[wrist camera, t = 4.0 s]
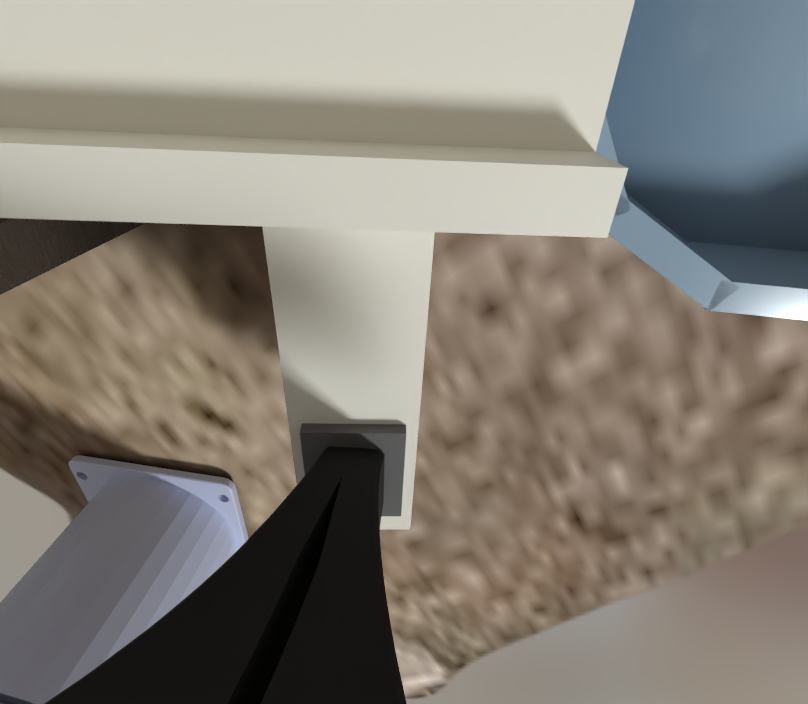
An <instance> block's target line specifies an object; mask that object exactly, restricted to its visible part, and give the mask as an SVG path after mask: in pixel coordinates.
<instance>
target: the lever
mask: <svg viewBox="0 0 808 704" xmlns="http://www.w3.org/2000/svg"><path fill="white" fill-rule="evenodd" d="M634 2H635V0H0V218H18V219H49V220H80V221H110V222H141V223H171V224H202V225H233V226H262V228H263V236H264V243H265V251H266V258H267V266H268V273H269V281H270V288H271V295H272V303H273V310H274V318H275V325H276V333H277V340H278V348H279V355H280V362H281V370H282V377H283V385H284V392H285V400H286V407H287V415H288V422H289V429H290V437H291V444H292V452H293V459H294V467H295V474H296V482H297V485H298V483H299V482H300V481H301V480H302V479H303V477H304V476H305V475H306V474H307V472H308V471H309V470H310V469H311V467H312V466H313V465H314V463H315V462H316V461H317V459H318V458H319V457H320V455H321V454H322V453H323V451H324V450H325V449H326V448H328V447H329V446H332V447H352V448H368V449H375V450H381V451H382V452H383V453H384V454H385V462H384V499H383V509H382V515H381V522H380V529H410V524H411V512H412V500H413V488H414V476H415V464H416V451H417V439H418V427H419V415H420V403H421V391H422V379H423V367H424V355H425V343H426V330H427V318H428V306H429V294H430V282H431V270H432V258H433V246H434V234H435V232H447V233H478V234H509V235H539V236H570V237H600V238H607V237H608V234H609V231H610V227H611V224H612V221H613V218H614V214H615V211H616V208H617V204H618V201H619V198H620V194H621V191H622V188H623V185H624V181H625V178H626V175H627V171H628V168H627V167H625V166H623V165H621V164H619V163H617V162H615V161H613V160H611V159H609V158H607V157H605V156H603V155H601V154H599V153H597V152H596V149H597V145H598V141H599V137H600V133H601V129H602V125H603V122H604V118H605V114H606V110H607V106H608V102H609V99H610V95H611V91H612V87H613V83H614V79H615V75H616V72H617V68H618V64H619V60H620V56H621V52H622V49H623V45H624V41H625V37H626V33H627V29H628V25H629V22H630V18H631V14H632V10H633V6H634Z"/></svg>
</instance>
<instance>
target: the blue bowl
mask: <svg viewBox="0 0 808 704" xmlns="http://www.w3.org/2000/svg"><path fill="white" fill-rule="evenodd" d="M596 152H597V153H599V154H601V155H603V156H605V157H607V158H609V159H611V160H613V161H615V162H617V163H619V164H621V165H623V166H625V167H627V168H628V171H627V175H626V178H625V181H624V185H623V188H622V191H621V194H620V198H619V201H618V204H617V208H616V211H615V214H614V218H613V221H612V224H611V227H610V231H609V235H610V236H611V237H612V238H614V239H615V240H616V241H618V242H619V243H620V244H622V245H623V246H624V247H626V248H627V249H628V250H630V251H631V252H632V253H634V254H635V255H636V256H637V257H639V258H640V259H641V260H643V261H644V262H645V263H647V264H648V265H649V266H651V267H652V268H653V269H655V270H656V271H657V272H659V273H660V274H661V275H663V276H664V277H665V278H666V279H668V280H669V281H670V282H672V283H673V284H674V285H676V286H677V287H678V288H680V289H681V290H682V291H684V292H685V293H686V294H688V295H689V296H690V297H691V298H693V299H694V300H695V301H697V302H698V303H699V304H701V305H702V306H703V307H704V308H705V309H706V310H709V311H719V312H729V313H738V314H748V315H758V316H767V317H777V318H787V319H796V320H806V321H808V0H635V2H634V6H633V10H632V14H631V18H630V22H629V25H628V29H627V33H626V37H625V41H624V45H623V49H622V52H621V56H620V60H619V64H618V68H617V72H616V75H615V79H614V83H613V87H612V91H611V95H610V99H609V102H608V106H607V110H606V114H605V118H604V122H603V125H602V129H601V133H600V137H599V141H598V145H597V149H596Z"/></svg>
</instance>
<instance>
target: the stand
mask: <svg viewBox="0 0 808 704" xmlns="http://www.w3.org/2000/svg"><path fill="white" fill-rule="evenodd" d="M142 224H144V223H141V222H110V221H80V220H49V219H18V218H0V295H1V294H3V293H5V292H7V291H9V290H11V289H13V288H15V287H17V286H19V285H21V284H23V283H25V282H27V281H29V280H31V279H33V278H35V277H37V276H39V275H41V274H43V273H45V272H47V271H49V270H51V269H53V268H55V267H57V266H59V265H61V264H63V263H65V262H67V261H69V260H71V259H73V258H75V257H77V256H79V255H81V254H83V253H85V252H87V251H89V250H91V249H93V248H95V247H98V246H100V245H102V244H104V243H106V242H108V241H110V240H112V239H114V238H116V237H118V236H120V235H122V234H124V233H126V232H128V231H130V230H132V229H134V228H136V227H138V226H140V225H142Z"/></svg>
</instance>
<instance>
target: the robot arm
mask: <svg viewBox="0 0 808 704" xmlns="http://www.w3.org/2000/svg"><path fill="white" fill-rule="evenodd" d="M384 462H385V454H384V453H383V452H382V451H381V450H375V449H368V448H352V447H332V446H329V447H328V448H326V449H325V450H324V451H323V453H322V454H321V455H320V457H319V458H318V459H317V461H316V462H315V463H314V465H313V466H312V467H311V469H310V470H309V471H308V472H307V474H306V475H305V476H304V477H303V479H302V480H301V481H300V482H299V483H298V485H297V486H296V487H295V488H294V490H293V491H292V492H291V493H290V494H289V495H288V496H287V498H286V499H285V500H284V501H283V502H282V503H281V505H280V506H279V507H278V508H277V509H276V510H275V511H274V513H273V514H272V515H271V516H270V517H269V518H268V519H267V520H266V521H265V522H264V523H263V524H262V525H261V527H260V528H259V529H258V530H257V531H256V532H255V533H254V534H253V535H252V536H251V537H250V538H249V539H248V535H247V531H246V527H245V523H244V519H243V515H242V511H241V507H240V503H239V499H238V495H237V491H236V487H235V485H234V483H233V482H232V481H231V480H229V479H227V478H224V477H217V476H211V475H204V474H198V473H191V472H185V471H178V470H172V469H166V468H159V467H153V466H146V465H140V464H133V463H127V462H120V461H114V460H107V459H101V458H94V457H88V456H81V455H76V456H74V457H73V458H72V459H71V460H70V461H69V463H68V464H69V468H70V469H71V471H72V473H73V475H74V477H75V479H76V481H77V482H78V484H79V486H80V488H81V490H82V492H83V493H84V495H85V497H86V499H87V501H88V504H87V505H86V506H85V507H84V509H83V510H82V511H81V512H80V513H79V514H78V515H77V516H76V518H75V519H74V520H73V521H72V522H71V523H70V524H69V526H68V527H67V528H66V529H65V530H64V531H63V532H62V533H61V535H60V536H59V537H58V538H57V539H56V540H55V541H54V542H53V544H52V545H51V546H50V547H49V548H48V549H47V550H46V552H45V553H44V554H43V555H42V556H41V557H40V558H39V559H38V561H37V562H36V563H35V564H34V565H33V566H32V567H31V568H30V570H29V571H28V572H27V573H26V574H25V575H24V576H23V578H22V579H21V580H20V581H19V582H18V583H17V584H16V585H15V587H14V588H13V589H12V590H11V591H10V592H9V593H8V594H7V596H6V597H5V598H4V599H3V600H2V601H1V602H0V704H406V699H405V695H404V690H403V685H402V681H401V676H400V672H399V667H398V662H397V658H396V652H395V647H394V641H393V636H392V630H391V625H390V619H389V612H388V606H387V600H386V593H385V585H384V577H383V568H382V559H381V548H380V534H379V531H380V522H381V515H382V509H383V499H384Z"/></svg>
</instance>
